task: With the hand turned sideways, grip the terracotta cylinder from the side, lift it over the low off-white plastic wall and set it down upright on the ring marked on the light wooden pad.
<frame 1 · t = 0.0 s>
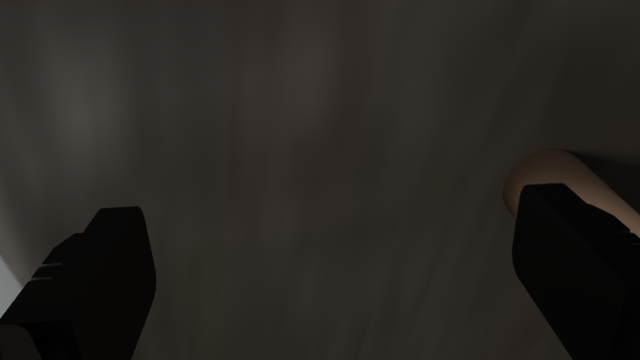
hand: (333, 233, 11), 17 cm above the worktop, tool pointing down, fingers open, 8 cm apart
cylinder: (544, 186, 31), on the worktop
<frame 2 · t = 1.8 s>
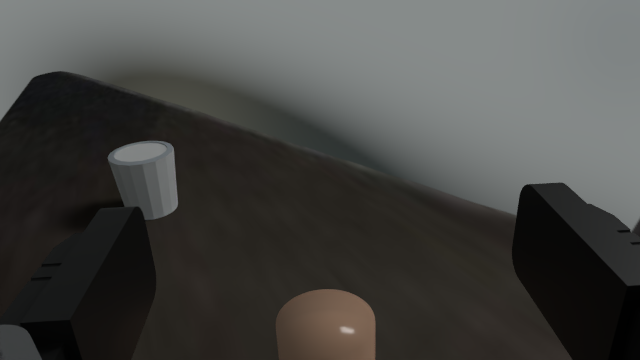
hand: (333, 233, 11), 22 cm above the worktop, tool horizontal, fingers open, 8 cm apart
shot glass: (153, 209, 59), on the worktop
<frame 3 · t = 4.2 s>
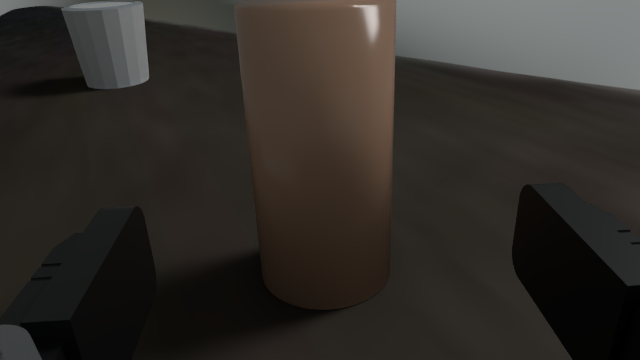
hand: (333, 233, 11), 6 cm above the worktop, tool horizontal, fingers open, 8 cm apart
cylinder: (325, 268, 20), on the worktop
shot glass: (118, 83, 49), on the worktop
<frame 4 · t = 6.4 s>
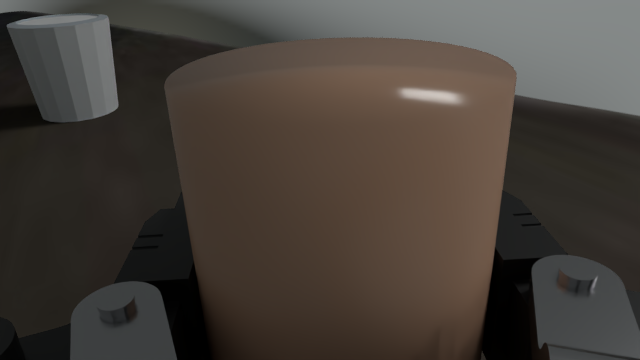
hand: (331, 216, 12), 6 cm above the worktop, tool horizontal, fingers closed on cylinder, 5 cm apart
shot glass: (81, 113, 41), on the worktop
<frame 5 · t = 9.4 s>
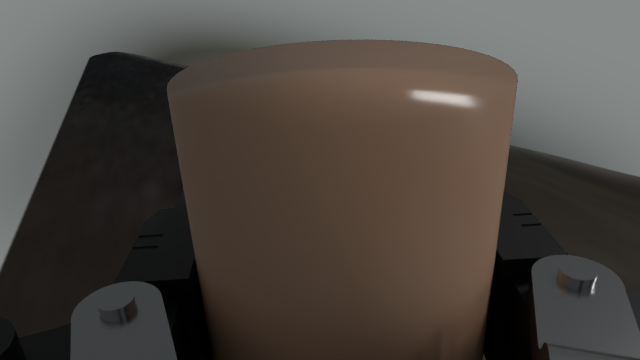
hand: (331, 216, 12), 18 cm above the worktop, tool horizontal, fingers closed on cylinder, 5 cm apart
when the fingers open (8 cm above the worktop, at t = 12.3 s): cylinder drops 1 cm, resting on pad.
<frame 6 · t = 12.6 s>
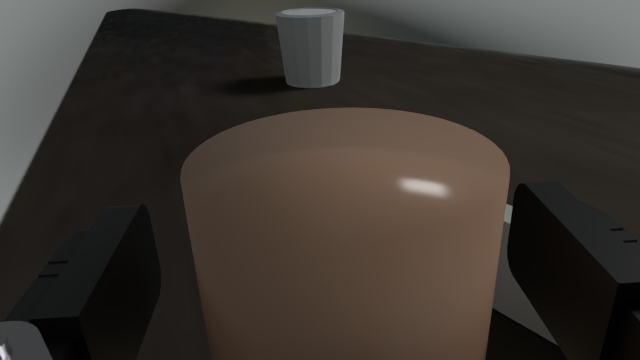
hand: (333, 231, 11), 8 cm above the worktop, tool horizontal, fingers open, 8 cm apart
shot glass: (312, 82, 54), on the worktop
wall: (506, 304, 21), on the worktop
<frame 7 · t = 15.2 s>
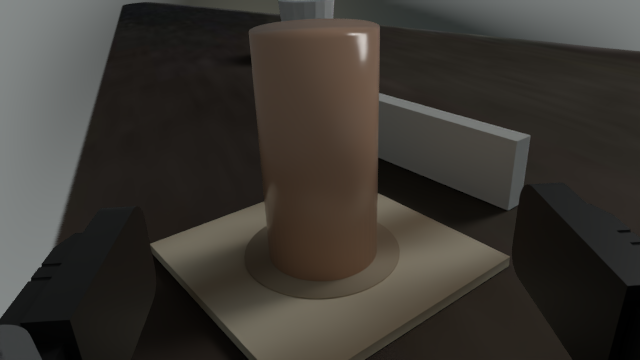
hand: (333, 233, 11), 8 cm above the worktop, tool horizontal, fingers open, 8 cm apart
cylinder: (322, 248, 24), point 1 cm above the worktop, touching pad
shot glass: (308, 57, 66), on the worktop
pad: (322, 259, 24), on the worktop
wall: (429, 173, 33), on the worktop
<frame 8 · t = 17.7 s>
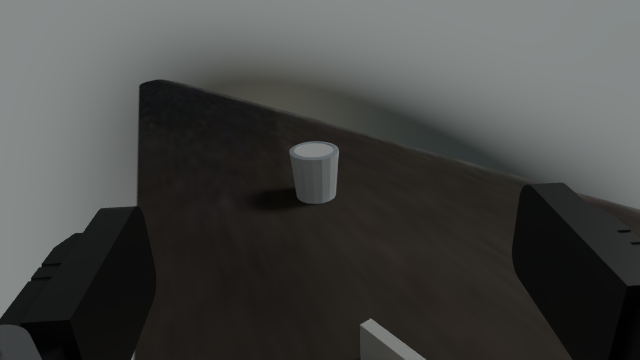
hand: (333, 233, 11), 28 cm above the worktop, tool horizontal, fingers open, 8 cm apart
shot glass: (316, 195, 75), on the worktop
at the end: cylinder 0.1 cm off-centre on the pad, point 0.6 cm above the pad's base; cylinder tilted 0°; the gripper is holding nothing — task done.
